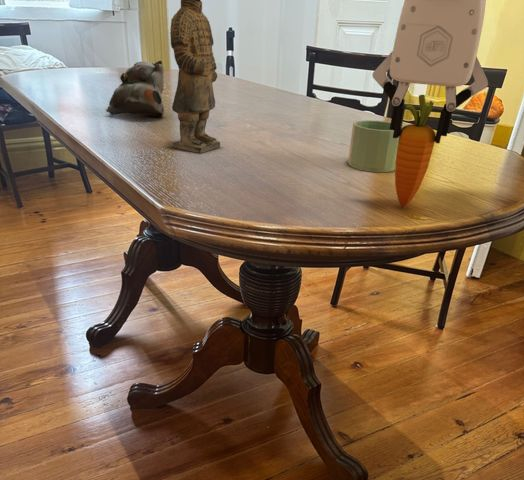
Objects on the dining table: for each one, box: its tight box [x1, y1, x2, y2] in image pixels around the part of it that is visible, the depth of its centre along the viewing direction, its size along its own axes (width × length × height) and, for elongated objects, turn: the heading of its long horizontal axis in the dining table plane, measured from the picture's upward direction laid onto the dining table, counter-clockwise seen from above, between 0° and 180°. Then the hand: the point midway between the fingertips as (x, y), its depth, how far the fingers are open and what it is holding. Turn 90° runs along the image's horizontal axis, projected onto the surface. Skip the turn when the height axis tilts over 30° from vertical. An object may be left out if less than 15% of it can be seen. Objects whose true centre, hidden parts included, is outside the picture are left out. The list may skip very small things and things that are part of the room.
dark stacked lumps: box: [105, 60, 165, 118], centre depth 122 cm, size 15×12×14 cm
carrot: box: [394, 94, 436, 208], centre depth 72 cm, size 5×5×15 cm
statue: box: [169, 0, 221, 154], centre depth 92 cm, size 10×8×30 cm
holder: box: [347, 119, 404, 173], centre depth 94 cm, size 9×9×7 cm
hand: (417, 137), depth 71 cm, fingers closed on carrot, 4 cm apart
